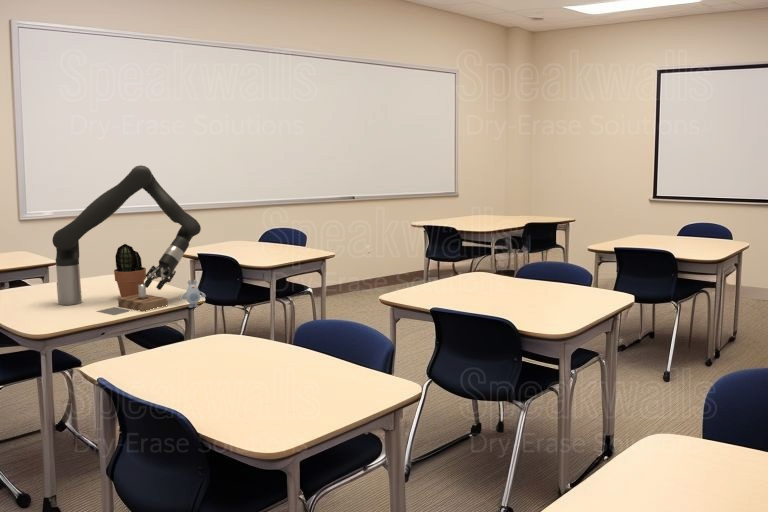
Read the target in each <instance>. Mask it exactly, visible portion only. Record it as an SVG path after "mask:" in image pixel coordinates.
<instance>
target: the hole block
mask: <svg viewBox="0 0 768 512" xmlns="http://www.w3.org/2000/svg"><path fill="white" fill-rule="evenodd" d="M117 304H118V307H117V308H122V309H127V310H132V309H133V310H134V311H138V310H140V311H139V312H143V311H145V312H147V311H146V310H150V309H153V308H157V307H162V306H166V305H167V306H168V298H167V297H163V296H157V295H152V294H151V295H150V294H147V293H146V299H144V300H139V294H137V295H133V296H128V297H123V298H121V297H119V298H117ZM167 306H166V307H167ZM162 308H163V307H162ZM133 310H132V311H133ZM150 311H151V310H150Z"/></svg>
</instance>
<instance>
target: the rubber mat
mask: <svg viewBox="0 0 768 512" xmlns="http://www.w3.org/2000/svg"><path fill="white" fill-rule="evenodd" d="M130 310H131V309H127V308H122V307H116V306H114V307H110V308H105V309H100V310H96V311H95V312H97V313H101V314H106V315H112V316H117V315H120V314H125V313H129V311H130ZM130 312H131V311H130Z"/></svg>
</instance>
